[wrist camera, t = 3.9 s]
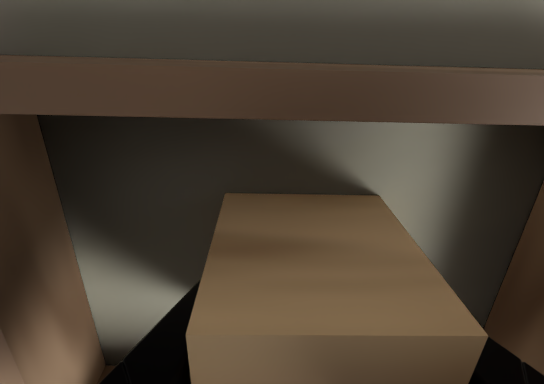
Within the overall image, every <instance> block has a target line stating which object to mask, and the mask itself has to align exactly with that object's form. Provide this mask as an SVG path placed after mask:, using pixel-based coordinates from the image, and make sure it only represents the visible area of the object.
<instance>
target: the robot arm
mask: <svg viewBox="0 0 544 384" xmlns="http://www.w3.org/2000/svg"><path fill="white" fill-rule="evenodd" d="M200 282H201V279H200V280H199V281H198V282H197V283H196V284H195V285H194V286H193V288H192V289H191V290H190V291H189V292H188V293H187V294H186V295H185V296H184V297H183V298H182V299H181V300H180V301H179V302H178V303H177V304H176V305H175V306H174V307H173V308H172V309H171V310H170V311H169V312H168V313H167V314H166V315H165V316H164V317H163V318H162V319H161V320H160V321H159V322H158V323H157V324H156V326H155V327H154V328H153V329H152V330H151V331H150V332H149V333H148V334H147V335H146V336H145V337H144V338H143V339H142V340H141V341H140V342H139V343H138V344H137V345H136V346H135V347H134V348H133V349H132V350H131V351H130V352H129V353H128V354H127V355H126V356H125V357H124V358H123V362H122V361H121V362H119V363H118V364H117V365H116V366H115V367H114V368H113V369H112V371H111V372H110V373H109V374H108V375H107V376H106V377H105V378H104V379H103V380H101V381H100V382H99V383H98V384H191V377H190V368H189V359H188V351H187V342H186V331H187V328H188V324H189V321H190V317H191V314H192V310H193V307H194V303H195V299H196V296H197V292H198V289H199V285H200ZM468 384H544V375H543V374H541V373H540V372H539V371H537V370H536V369H534V368H533V367H531V366H530V365H529V364H527V363H526V362H522V361H521V359H520V358H518V357H517V356H516V355H514V354H513V353H511V352H510V351H508V350H507V349H506V348H504V347H503V346H501V345H500V344H498V343H497V342H496V341H494V340H493V339H491V338H490V337H488V338H487V341H486V343H485V345H484V348H483V350H482V352H481V355H480V357H479V359H478V362H477V364H476V367H475V369H474V371H473V374H472V376H471V378H470V381H469V383H468Z"/></svg>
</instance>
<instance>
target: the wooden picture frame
mask: <svg viewBox="0 0 544 384" xmlns="http://www.w3.org/2000/svg"><path fill="white" fill-rule="evenodd" d="M37 115H78V116H125V117H171V118H218V119H264V120H310V121H357V122H403V123H449V124H496V125H542V126H544V69H514V68H476V67H439V66H401V65H363V64H326V63H288V62H250V61H213V60H175V59H137V58H99V57H62V56H24V55H0V384H98V383H99V382H100V381H101V380H103V379H104V378H105V377H106V376H107V375H108V374H109V373H110V372H111V371H112V369H113V368H114V367H115V366H106V364H105V361H104V357H103V354H102V350H101V346H100V343H99V339H98V335H97V332H96V328H95V325H94V321H93V317H92V314H91V310H90V307H89V303H88V299H87V296H86V292H85V289H84V285H83V281H82V278H81V274H80V270H79V267H78V263H77V260H76V256H75V252H74V249H73V245H72V242H71V238H70V234H69V231H68V227H67V224H66V220H65V216H64V213H63V209H62V205H61V202H60V198H59V195H58V191H57V187H56V184H55V180H54V177H53V173H52V169H51V166H50V162H49V159H48V155H47V151H46V148H45V144H44V140H43V137H42V133H41V130H40V126H39V122H38V119H37ZM483 330H484V331H485V332H486V333H487V335H488V337H490V338H491V339H493V340H494V341H496V342H497V343H498V344H500V345H501V346H503V347H504V348H506V349H507V350H508V351H510V352H511V353H513V354H514V355H516V356H517V357H518V358H520V359H521V361H522V362H526V363H527V364H529V365H530V366H531V367H533V368H534V369H536V370H537V371H539V372H540V373H541V374H543V375H544V182H543V184H542V187H541V189H540V192H539V194H538V197H537V199H536V201H535V204H534V206H533V209H532V211H531V214H530V216H529V219H528V221H527V224H526V226H525V228H524V231H523V233H522V236H521V238H520V241H519V243H518V246H517V248H516V251H515V253H514V255H513V258H512V260H511V263H510V265H509V268H508V270H507V273H506V275H505V278H504V280H503V282H502V285H501V287H500V290H499V292H498V295H497V297H496V300H495V302H494V305H493V307H492V309H491V312H490V314H489V317H488V319H487V322H486V324H485V327H484V329H483Z"/></svg>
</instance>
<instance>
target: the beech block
mask: <svg viewBox="0 0 544 384" xmlns="http://www.w3.org/2000/svg"><path fill="white" fill-rule="evenodd" d="M487 338H488V335H487V333H486V332H485V331H484V330H483V328H482V327H481V326H480V324H479V323H478V322H477V321H476V319H475V318H474V317H473V315H472V314H471V313H470V312H469V310H468V309H467V308H466V307H465V305H464V304H463V303H462V301H461V300H460V299H459V298H458V296H457V295H456V294H455V292H454V291H453V290H452V289H451V287H450V286H449V285H448V283H447V282H446V281H445V280H444V278H443V277H442V276H441V274H440V273H439V272H438V271H437V269H436V268H435V267H434V265H433V264H432V263H431V262H430V260H429V259H428V258H427V256H426V255H425V254H424V253H423V251H422V250H421V249H420V247H419V246H418V245H417V244H416V242H415V241H414V240H413V238H412V237H411V236H410V235H409V233H408V232H407V231H406V229H405V228H404V227H403V226H402V224H401V223H400V222H399V221H398V219H397V218H396V217H395V215H394V214H393V213H392V212H391V210H390V209H389V208H388V206H387V205H386V204H385V203H384V201H383V200H382V199H381V197H380V196H377V195H317V194H258V193H225V196H224V200H223V203H222V207H221V210H220V214H219V217H218V221H217V225H216V228H215V232H214V235H213V239H212V242H211V246H210V250H209V253H208V257H207V260H206V264H205V267H204V271H203V274H202V278H201V282H200V285H199V289H198V292H197V296H196V299H195V303H194V307H193V310H192V314H191V317H190V321H189V324H188V328H187V331H186V342H187V351H188V359H189V368H190V377H191V384H468V383H469V381H470V378H471V376H472V374H473V371H474V369H475V367H476V364H477V362H478V359H479V357H480V355H481V352H482V350H483V348H484V345H485V343H486V341H487Z"/></svg>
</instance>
